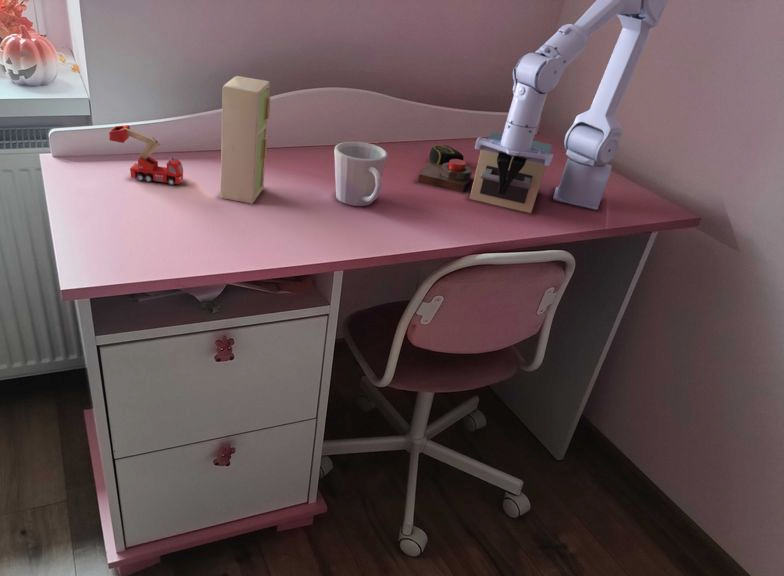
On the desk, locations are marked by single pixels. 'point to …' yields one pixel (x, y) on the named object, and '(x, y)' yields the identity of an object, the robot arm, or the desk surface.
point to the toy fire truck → (148, 159)
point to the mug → (358, 172)
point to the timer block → (445, 177)
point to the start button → (457, 165)
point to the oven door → (518, 191)
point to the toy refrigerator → (244, 138)
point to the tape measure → (444, 154)
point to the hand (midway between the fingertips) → (501, 192)
